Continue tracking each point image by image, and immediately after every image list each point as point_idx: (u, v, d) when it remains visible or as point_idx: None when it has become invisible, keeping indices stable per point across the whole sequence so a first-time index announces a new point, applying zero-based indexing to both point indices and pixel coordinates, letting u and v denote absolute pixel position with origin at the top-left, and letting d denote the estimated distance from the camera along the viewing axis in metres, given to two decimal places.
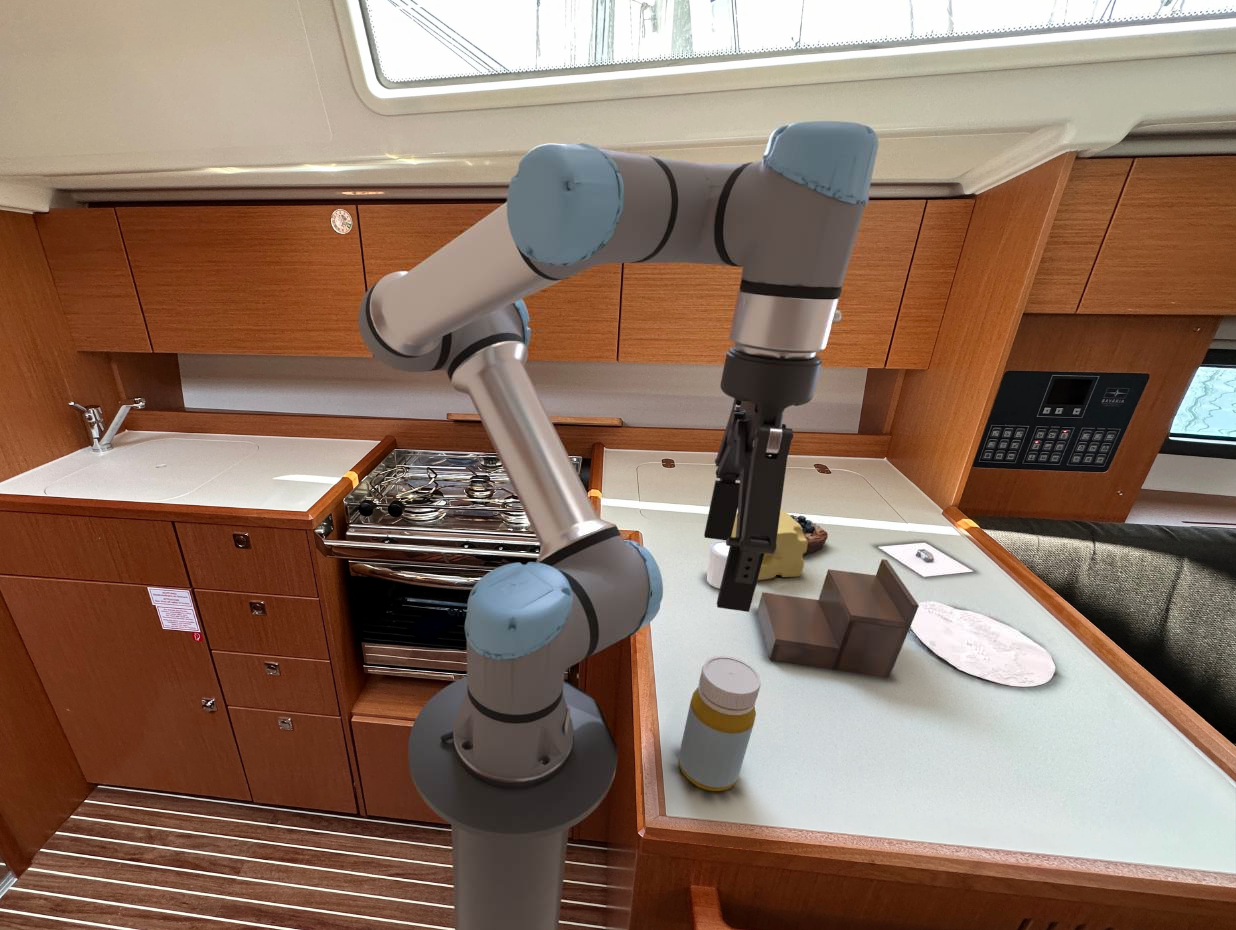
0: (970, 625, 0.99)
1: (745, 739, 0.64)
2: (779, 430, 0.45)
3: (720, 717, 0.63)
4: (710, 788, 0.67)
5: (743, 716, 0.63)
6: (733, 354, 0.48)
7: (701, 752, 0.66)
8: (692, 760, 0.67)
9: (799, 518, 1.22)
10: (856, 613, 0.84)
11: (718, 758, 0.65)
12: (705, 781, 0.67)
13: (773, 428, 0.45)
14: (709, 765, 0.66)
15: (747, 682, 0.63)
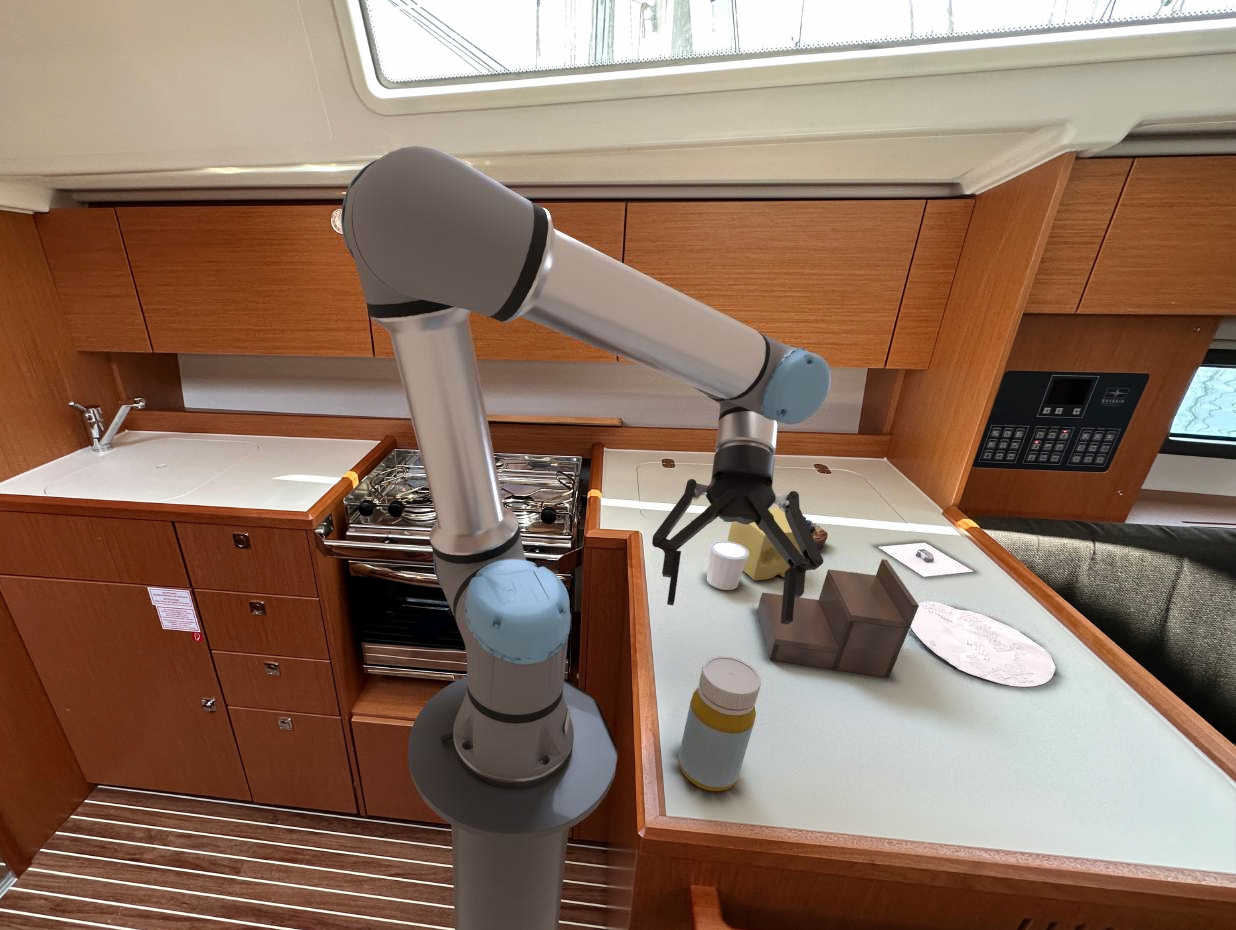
0: (970, 625, 0.99)
1: (745, 739, 0.64)
2: None
3: (720, 717, 0.63)
4: (710, 788, 0.67)
5: (743, 716, 0.63)
6: (757, 447, 0.73)
7: (701, 752, 0.66)
8: (692, 761, 0.67)
9: None
10: (856, 613, 0.84)
11: (718, 758, 0.65)
12: (705, 781, 0.67)
13: None
14: (709, 765, 0.66)
15: (747, 682, 0.63)
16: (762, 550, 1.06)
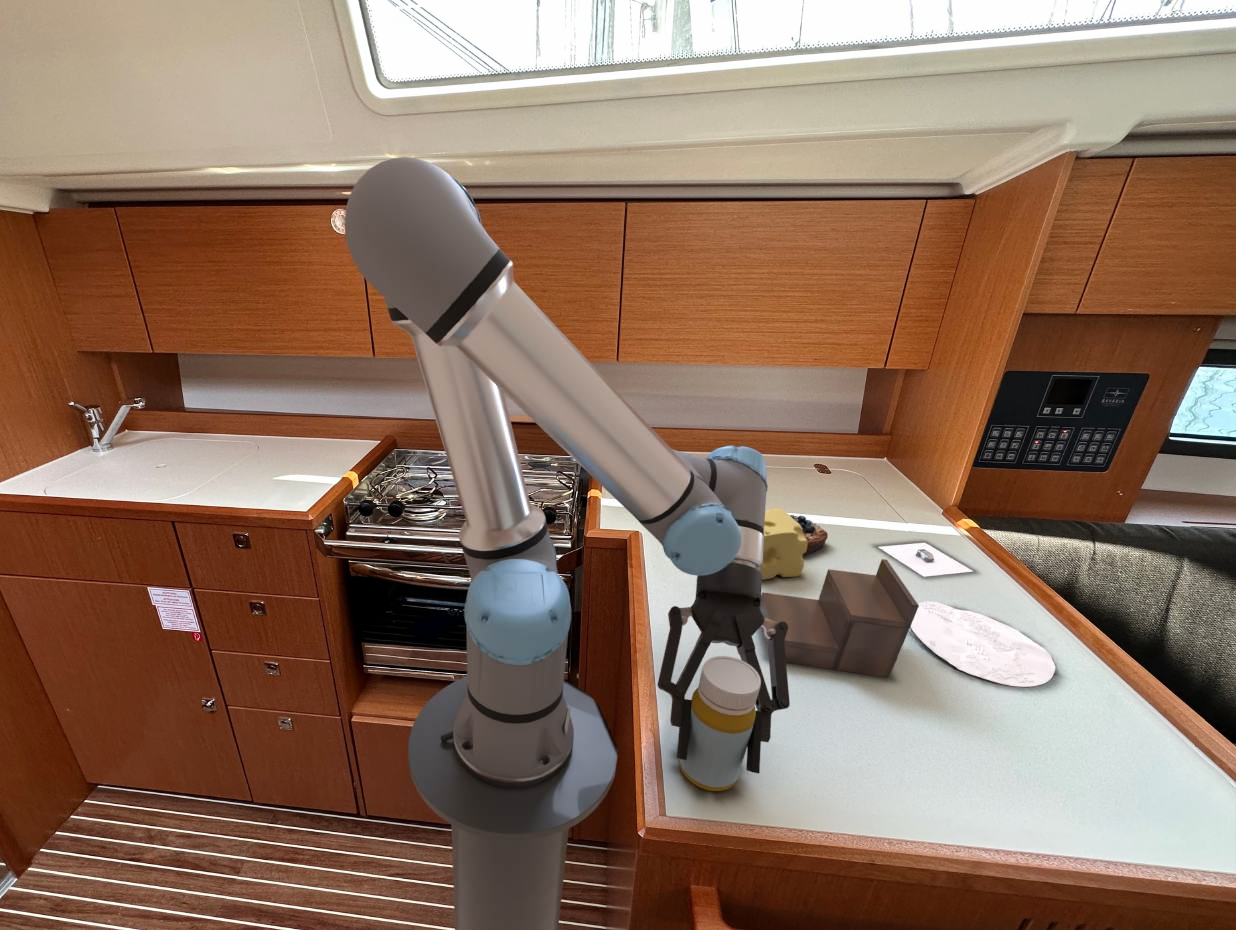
0: (970, 625, 0.99)
1: (745, 739, 0.64)
2: None
3: (720, 717, 0.63)
4: (710, 788, 0.67)
5: (743, 716, 0.63)
6: (744, 566, 0.69)
7: (700, 752, 0.66)
8: (692, 760, 0.67)
9: (799, 518, 1.22)
10: (856, 613, 0.84)
11: (718, 758, 0.65)
12: (705, 780, 0.67)
13: None
14: (709, 765, 0.66)
15: (747, 682, 0.63)
16: None
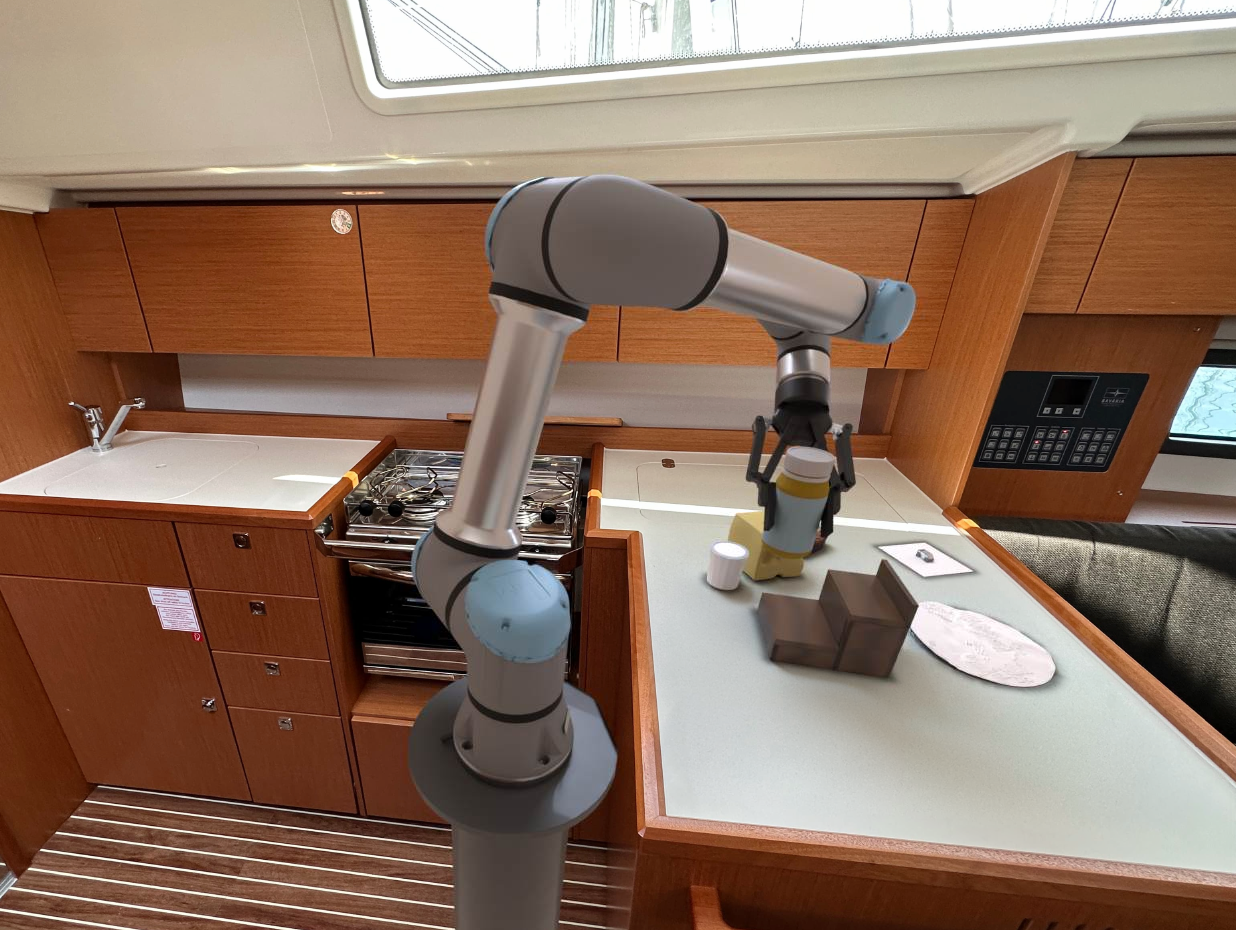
0: (970, 625, 0.99)
1: (821, 507, 0.81)
2: None
3: (802, 486, 0.79)
4: (790, 554, 0.84)
5: (820, 484, 0.79)
6: None
7: (784, 522, 0.82)
8: (775, 532, 0.84)
9: None
10: (856, 613, 0.84)
11: (799, 524, 0.81)
12: (787, 547, 0.83)
13: None
14: (791, 532, 0.82)
15: (824, 458, 0.79)
16: (762, 550, 1.06)
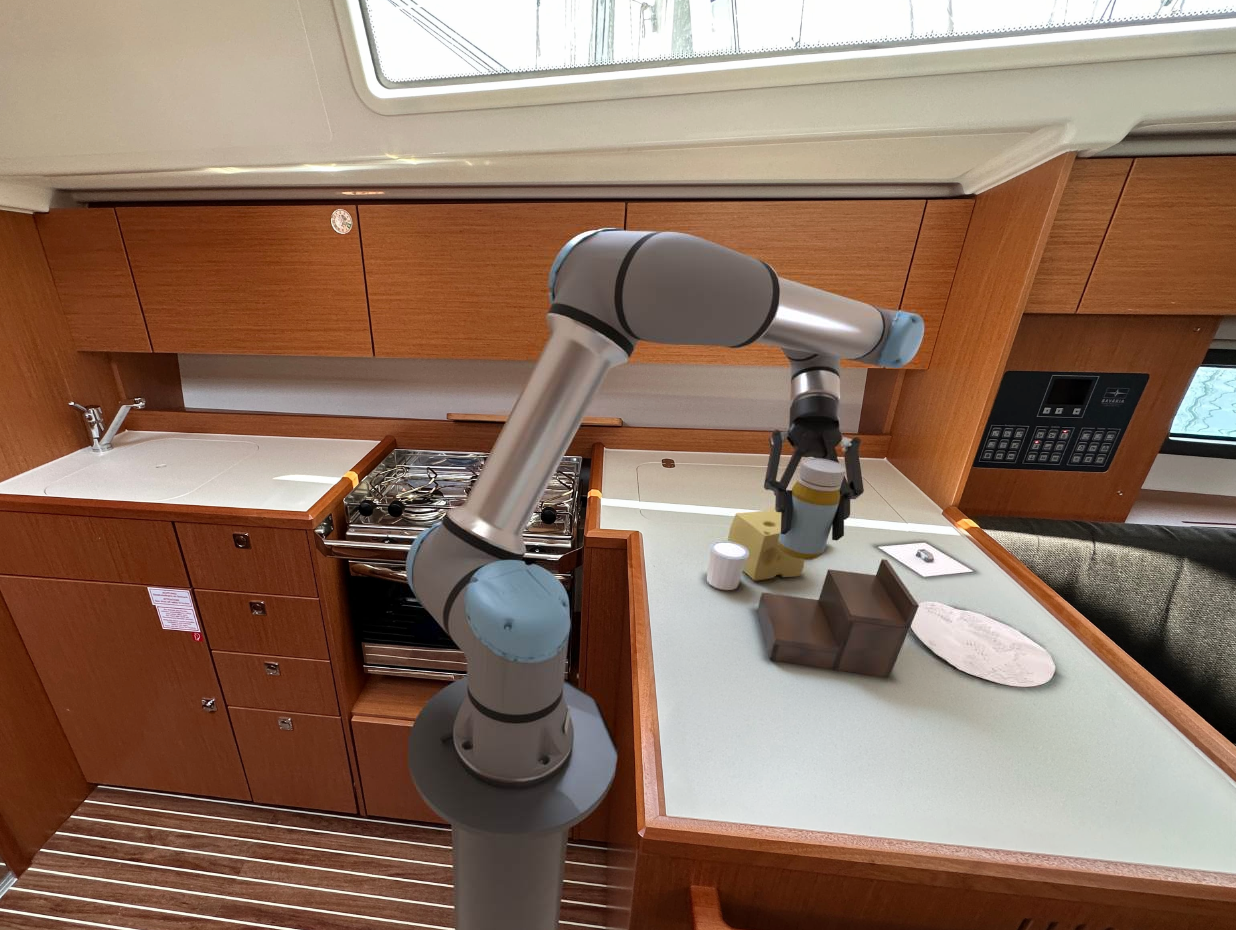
0: (970, 625, 0.99)
1: (833, 513, 0.90)
2: None
3: (817, 494, 0.89)
4: (805, 555, 0.93)
5: (833, 492, 0.88)
6: (828, 397, 0.94)
7: (799, 525, 0.91)
8: (791, 535, 0.93)
9: None
10: (856, 613, 0.84)
11: (813, 528, 0.91)
12: (802, 549, 0.93)
13: None
14: (806, 535, 0.91)
15: (835, 468, 0.89)
16: (762, 550, 1.06)
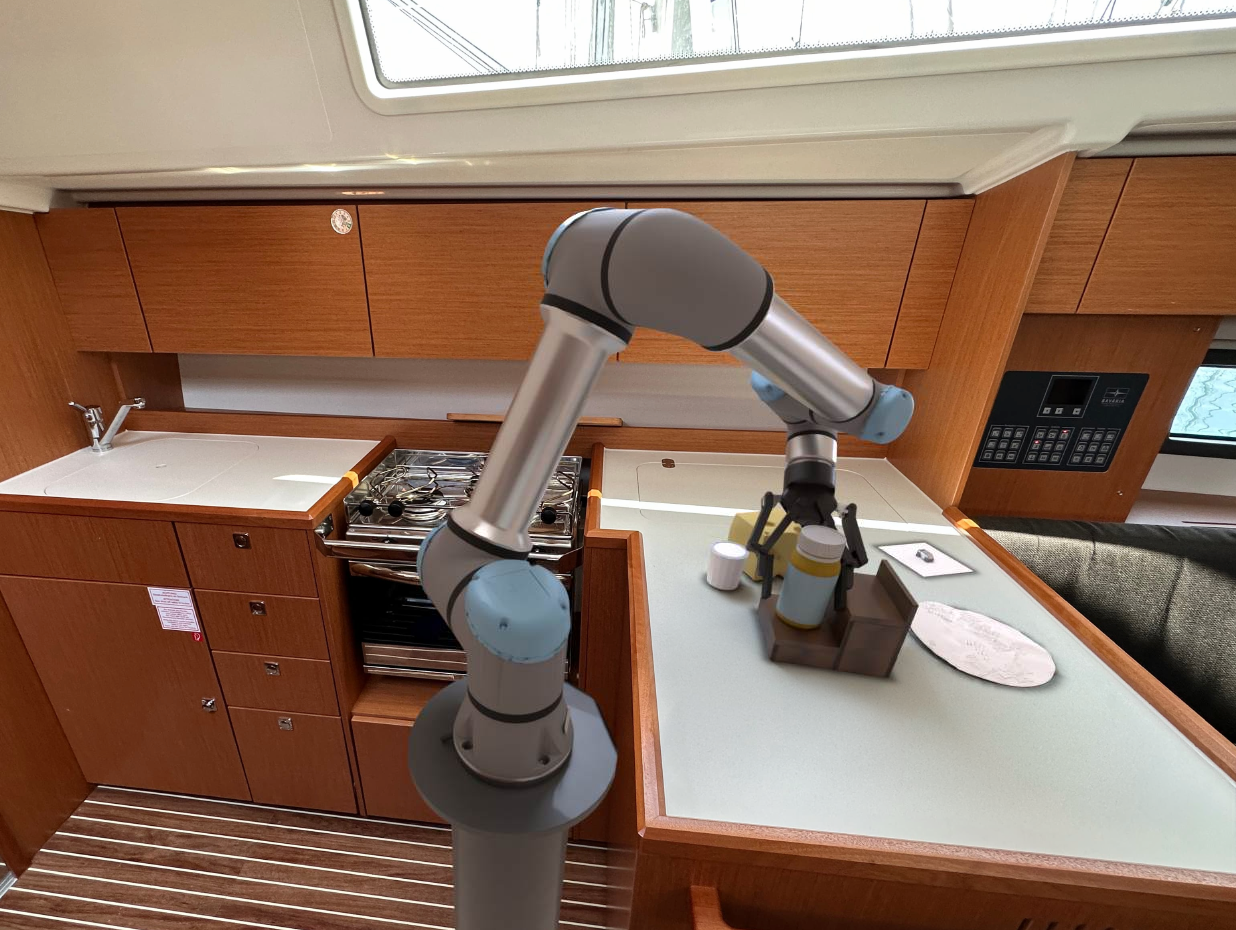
0: (970, 625, 0.99)
1: (833, 584, 0.86)
2: None
3: (816, 565, 0.85)
4: (804, 626, 0.89)
5: (833, 564, 0.85)
6: (824, 463, 0.91)
7: (798, 596, 0.88)
8: (790, 605, 0.89)
9: None
10: (856, 613, 0.84)
11: (812, 600, 0.87)
12: (801, 620, 0.89)
13: None
14: (805, 606, 0.88)
15: (836, 539, 0.85)
16: None
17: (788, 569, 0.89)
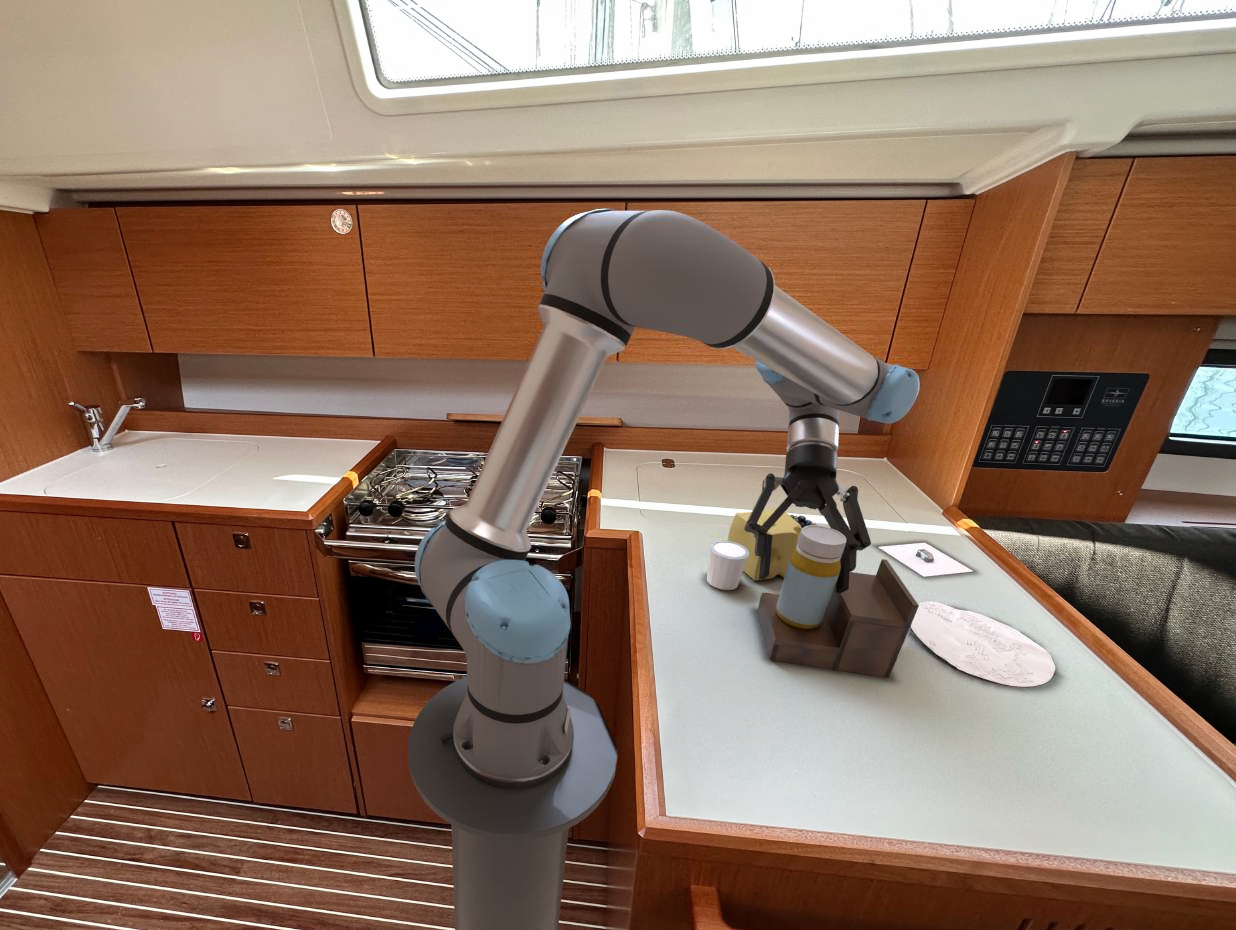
0: (970, 625, 0.99)
1: (833, 584, 0.86)
2: None
3: (816, 565, 0.85)
4: (804, 626, 0.89)
5: (833, 564, 0.85)
6: (826, 447, 0.91)
7: (798, 596, 0.88)
8: (790, 605, 0.89)
9: (799, 518, 1.22)
10: (856, 613, 0.84)
11: (812, 600, 0.87)
12: (801, 620, 0.89)
13: None
14: (805, 606, 0.88)
15: (836, 539, 0.85)
16: None
17: (788, 569, 0.89)
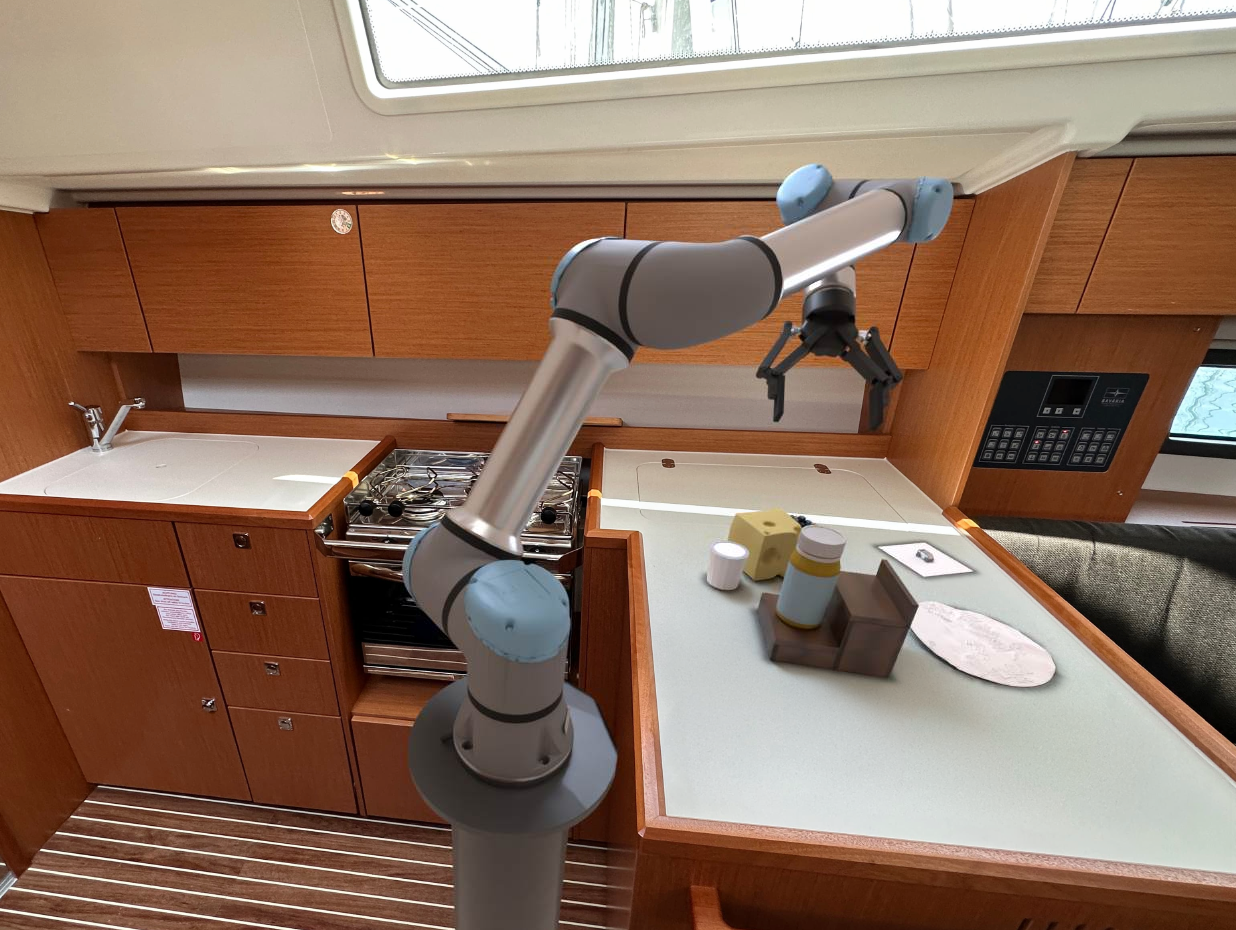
0: (970, 625, 0.99)
1: (833, 584, 0.86)
2: None
3: (816, 565, 0.85)
4: (804, 626, 0.89)
5: (833, 564, 0.85)
6: None
7: (798, 596, 0.88)
8: (790, 605, 0.89)
9: (799, 518, 1.22)
10: (856, 613, 0.84)
11: (812, 600, 0.87)
12: (801, 620, 0.89)
13: None
14: (805, 606, 0.88)
15: (836, 539, 0.85)
16: (762, 550, 1.06)
17: (788, 569, 0.89)
